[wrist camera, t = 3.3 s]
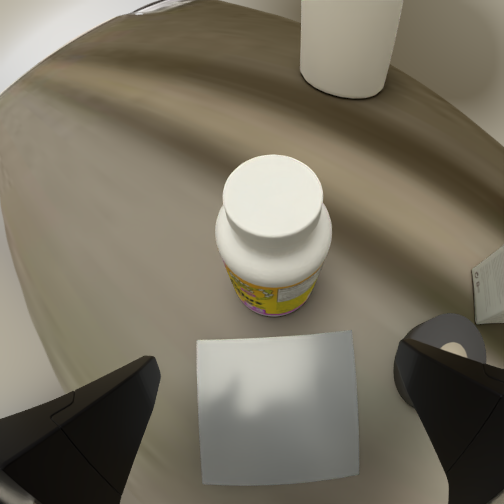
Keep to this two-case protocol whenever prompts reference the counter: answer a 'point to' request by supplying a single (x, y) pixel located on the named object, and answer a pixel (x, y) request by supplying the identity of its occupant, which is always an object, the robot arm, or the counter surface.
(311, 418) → the grey flat square piece
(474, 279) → the skincare box
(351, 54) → the white jar
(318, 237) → the supplement bottle
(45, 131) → the counter surface
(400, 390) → the dark grey thick disc
